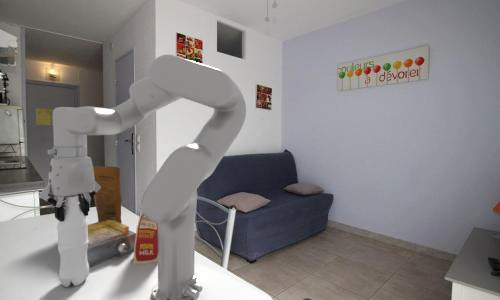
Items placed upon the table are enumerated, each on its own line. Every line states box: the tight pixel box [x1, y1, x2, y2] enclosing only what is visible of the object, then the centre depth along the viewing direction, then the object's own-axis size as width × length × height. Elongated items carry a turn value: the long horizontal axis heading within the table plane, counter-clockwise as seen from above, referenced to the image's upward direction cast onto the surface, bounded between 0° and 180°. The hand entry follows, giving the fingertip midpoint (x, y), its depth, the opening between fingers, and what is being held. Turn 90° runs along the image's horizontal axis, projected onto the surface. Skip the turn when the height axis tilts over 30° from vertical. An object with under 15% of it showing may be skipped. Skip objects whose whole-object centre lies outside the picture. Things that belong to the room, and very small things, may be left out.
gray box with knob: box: [87, 219, 136, 268], centre depth 92 cm, size 18×18×9 cm
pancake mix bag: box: [93, 165, 123, 224], centre depth 113 cm, size 7×19×28 cm, turn 63°
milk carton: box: [133, 199, 158, 265], centre depth 90 cm, size 9×9×20 cm
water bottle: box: [56, 194, 90, 288], centre depth 74 cm, size 7×7×25 cm
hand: (72, 216), depth 74 cm, fingers closed on water bottle, 5 cm apart
